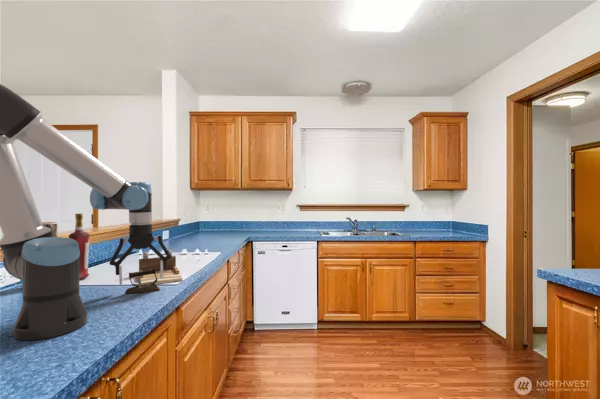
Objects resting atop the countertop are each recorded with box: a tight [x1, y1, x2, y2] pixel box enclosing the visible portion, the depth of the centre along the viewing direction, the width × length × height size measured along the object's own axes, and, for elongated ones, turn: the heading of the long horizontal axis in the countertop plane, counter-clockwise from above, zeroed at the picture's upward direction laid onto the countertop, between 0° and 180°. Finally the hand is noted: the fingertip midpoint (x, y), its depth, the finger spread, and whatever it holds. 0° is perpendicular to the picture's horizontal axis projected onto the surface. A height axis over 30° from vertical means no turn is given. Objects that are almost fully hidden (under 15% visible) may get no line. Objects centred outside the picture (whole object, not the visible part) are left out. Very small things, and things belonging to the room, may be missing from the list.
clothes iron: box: [124, 268, 161, 295], centre depth 113 cm, size 7×11×10 cm, turn 128°
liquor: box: [68, 213, 91, 281], centre depth 131 cm, size 7×7×28 cm
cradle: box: [138, 249, 183, 285], centre depth 133 cm, size 20×15×10 cm
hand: (142, 280), depth 114 cm, fingers open, 13 cm apart
